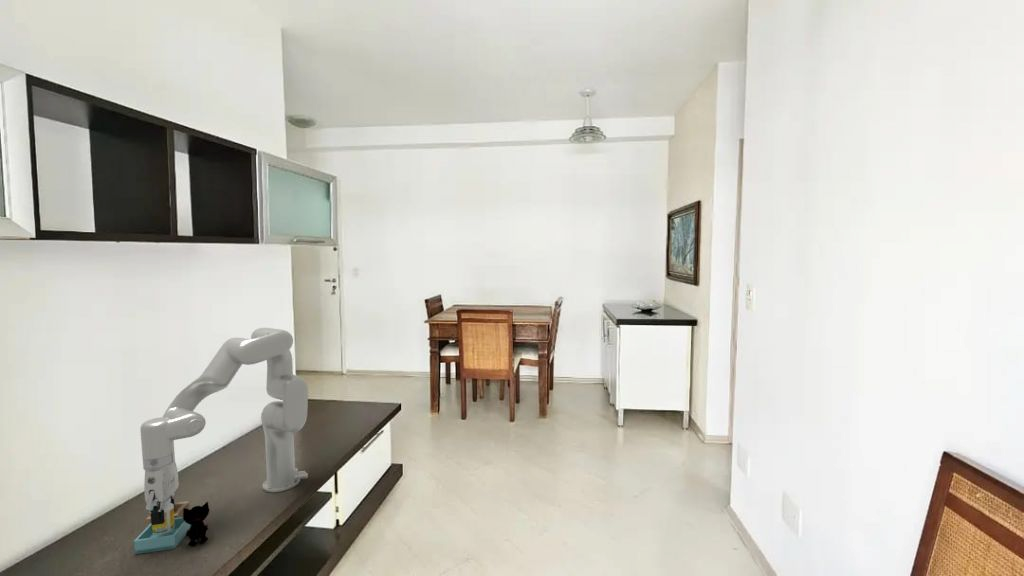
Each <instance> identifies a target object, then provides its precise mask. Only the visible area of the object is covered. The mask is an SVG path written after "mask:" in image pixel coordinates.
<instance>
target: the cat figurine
mask: <svg viewBox="0 0 1024 576" xmlns="http://www.w3.org/2000/svg"><path fill="white" fill-rule="evenodd" d="M209 506H210V505H209V502H208V501H206V502H205V503H204V504H203V505H202V506H201V505H195V506H193V507H191V508H190V510H189V509H185V508H184V509H183V519H184V521H185V522H186V523H188V524H190V525H191V526H190V529H189V530H187V531H186V535H185V537H188V539H189V542H188V544H187V546H188V547H196V546H197V545H198V543H199V545H204V544H205V543H206V542H207V541H208V539H209V538H208V536H206V535H207V531H208V530H209V529H210V528H209V527H210V526H209V525H208V524H205V523H204V521H205V520H206V519H207V517H208V515H209V514H210V507H209ZM197 541H199V542H197Z"/></svg>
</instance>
